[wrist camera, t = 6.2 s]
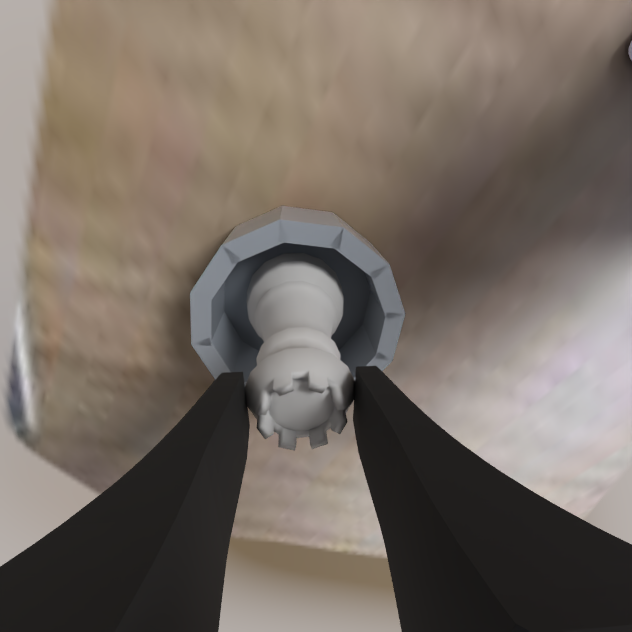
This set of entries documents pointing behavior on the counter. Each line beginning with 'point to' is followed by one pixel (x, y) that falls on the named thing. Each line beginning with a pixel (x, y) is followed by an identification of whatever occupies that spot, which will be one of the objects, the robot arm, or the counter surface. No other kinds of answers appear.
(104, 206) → the counter surface
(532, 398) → the counter surface
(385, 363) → the grey faceted bowl
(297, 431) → the rook chess piece
